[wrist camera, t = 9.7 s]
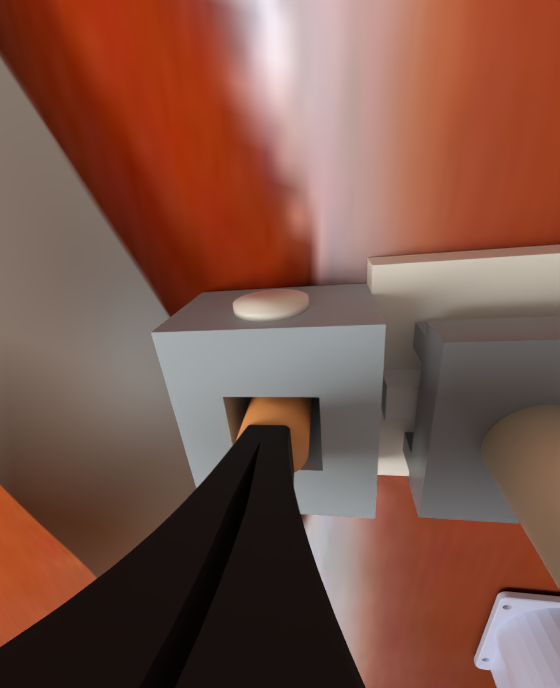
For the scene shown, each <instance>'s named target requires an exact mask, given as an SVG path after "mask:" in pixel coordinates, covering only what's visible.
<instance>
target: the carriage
mask: <svg viewBox="0 0 560 688" xmlns="http://www.w3.org/2000/svg"><path fill="white" fill-rule="evenodd" d="M413 348H414V350H415V352H416V354H417V355H418V357H419V359H420V361H421V362H422V366H421V375H420V383H419V392H418V400H417V409H416V418H415V426H414V432H404V441H403V453H404V456H405V460H406V463H407V466H408V470H409V478H408V482H409V485H410V489H411V492H412V496H413V499H414V503H415V506H416V510H417V513H418V517H422V518H438V519H454V520H471V521H487V522H503V523H519V524H521V526H522V527H523V529H524V531H525V532H526V534H527V536H528V537H529V539H530V541H531V543H532V544H533V546H534V548H535V549H536V551H537V553H538V554H539V556H540V558H541V559H542V561H543V563H544V564H545V566H546V568H547V570H548V571H549V573H550V575H551V576H552V578H553V580H554V581H555V583H556V585H557V586H558V588H559V590H560V316H549V317H521V318H493V319H465V320H437V321H424V322H415V330H414V340H413Z"/></svg>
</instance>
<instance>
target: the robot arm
mask: <svg viewBox="0 0 560 688" xmlns="http://www.w3.org/2000/svg"><path fill="white" fill-rule="evenodd" d="M474 661H475V665H476V666H477V667H478V668H480V669H486V670H491V672H492V675H493V678H494V681H495V683H496V686H497V688H560V596H550V595H539V594H529V593H518V592H507V591H504V592H500V593H499V594H498V595H497V597H496V600H495V603H494V606H493V608H492V611H491V614H490V617H489V619H488V622H487V625H486V627H485V630H484V633H483V636H482V638H481V641H480V644H479V647H478V649H477V652H476V655H475V657H474ZM0 688H365V685H364V683H363V681H362V679H361V676H360V674H359V672H358V669H357V667H356V665H355V662H354V660H353V658H352V655H351V653H350V651H349V648H348V646H347V644H346V641H345V639H344V636H343V634H342V631H341V629H340V626H339V624H338V621H337V619H336V617H335V614H334V611H333V609H332V606H331V603H330V601H329V598H328V595H327V593H326V590H325V587H324V585H323V582H322V579H321V577H320V574H319V571H318V569H317V566H316V563H315V560H314V557H313V554H312V551H311V548H310V545H309V541H308V538H307V535H306V532H305V528H304V525H303V521H302V518H301V514H300V510H299V506H298V502H297V498H296V494H295V490H294V463H293V453H292V443H291V433H290V428H289V427H288V426H287V425H248V426H247V427H246V428H245V430H244V431H243V432H242V434H241V435H240V436H239V438H238V439H237V440H236V442H235V443H234V444H233V446H232V447H231V448H230V449H229V451H228V452H227V453H226V454H225V456H224V457H223V458H222V459H221V461H220V462H219V463H218V464H217V465H216V467H215V468H214V469H213V470H212V471H211V473H210V474H209V475H208V476H207V477H206V478H205V480H204V481H203V482H202V483H201V484H200V485H199V486H198V487H197V488H196V489H195V490H194V492H193V493H192V494H191V495H190V496H189V497H188V498H187V499H186V500H185V501H184V502H183V503H182V504H181V505H180V506H179V508H177V509H176V511H174V512H173V513H172V514H171V515H170V517H168V518H167V519H166V520H165V521H164V522H163V523H162V524H161V525H160V526H159V527H158V528H157V529H156V530H155V531H153V533H151V534H150V535H149V536H148V537H147V538H146V539H144V540H143V541H142V542H141V543H140V544H139V545H138V546H136V547H135V548H134V549H133V550H132V551H131V552H130V553H128V555H126V556H125V557H124V558H123V559H121V560H120V561H119V562H118V563H117V564H115V565H114V566H113V567H111V568H110V569H109V570H108V571H106V572H105V573H104V574H102V575H101V576H100V577H98V578H97V579H96V580H95V581H93V582H92V583H91V584H89V585H88V586H87V587H85V588H84V589H83V590H82V591H80V592H79V593H78V594H76V595H75V596H74V597H72V598H71V599H70V600H68V601H67V602H66V603H64V604H63V605H61V606H60V607H59V608H57V609H56V610H54V611H53V612H52V613H50V614H49V615H47V616H46V617H44V618H43V619H41V620H40V621H38V622H37V623H35V624H34V625H32V626H31V627H30V628H28V629H27V630H25V631H24V632H22V633H21V634H19V635H18V636H16V637H15V638H13V639H12V640H10V641H9V642H7V643H6V644H4V645H3V646H2V647H0Z"/></svg>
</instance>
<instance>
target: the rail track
mask: <svg viewBox="0 0 560 688" xmlns="http://www.w3.org/2000/svg"><path fill="white" fill-rule="evenodd" d="M367 285H368V287H369V289H370V291H371V293H372V295H373V298H374V300H375V302H376V304H377V306H378V308H379V310H380V313H381V315H382V317H383V319H384V321H385V323H386V334H385V351H384V369H383V387H382V404H381V422H380V439H379V457H378V475H397V476H409V470H408V466H407V463H406V460H405V456H404V453H403V441H404V432H414V426H415V418H416V409H417V400H418V392H419V383H420V375H421V366H422V362H421V361H420V359H419V357H418V355H417V354H416V352H415V350H414V348H413V340H414V330H415V322H424V321H437V320H465V319H493V318H521V317H549V316H560V244H559V245H545V246H530V247H516V248H501V249H487V250H472V251H458V252H443V253H429V254H415V255H400V256H386V257H371V258H367Z"/></svg>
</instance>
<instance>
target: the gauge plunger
mask: <svg viewBox="0 0 560 688" xmlns="http://www.w3.org/2000/svg"><path fill="white" fill-rule="evenodd" d="M311 408H312V397H252V398H251V401H250V404H249V406H248V409H247V412H246V415H245V417H244V420H243V423H242V425H241V428H240V431H239V433H238V436H237V439H238V438H239V436H240V435H241V434H242V432H243V431H244V430H245V428H246V427H247V426H248V425H287V426H288V427H289V428H290V433H291V443H292V453H293V463H294V473H295V472H297V471H298V470H300V469H301V468H302V467H303V466H304V465H305V463H306V461H307V459H308V451H309V437H310V423H311ZM237 439H236V440H237Z"/></svg>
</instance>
